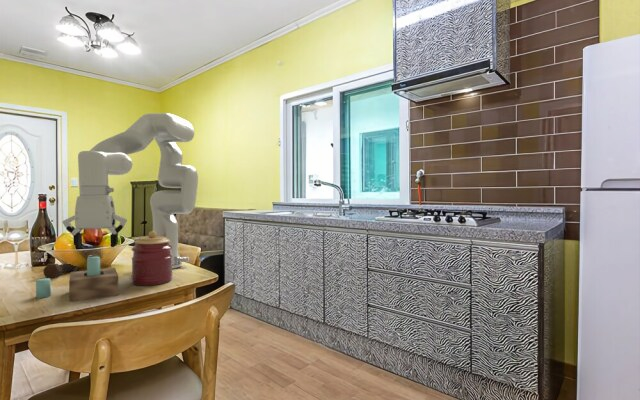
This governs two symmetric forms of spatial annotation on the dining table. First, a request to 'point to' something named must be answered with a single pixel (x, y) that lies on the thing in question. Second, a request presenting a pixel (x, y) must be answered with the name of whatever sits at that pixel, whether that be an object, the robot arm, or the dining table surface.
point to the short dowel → (43, 288)
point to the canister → (151, 260)
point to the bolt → (58, 269)
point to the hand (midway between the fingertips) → (96, 246)
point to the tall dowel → (93, 266)
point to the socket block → (93, 284)
